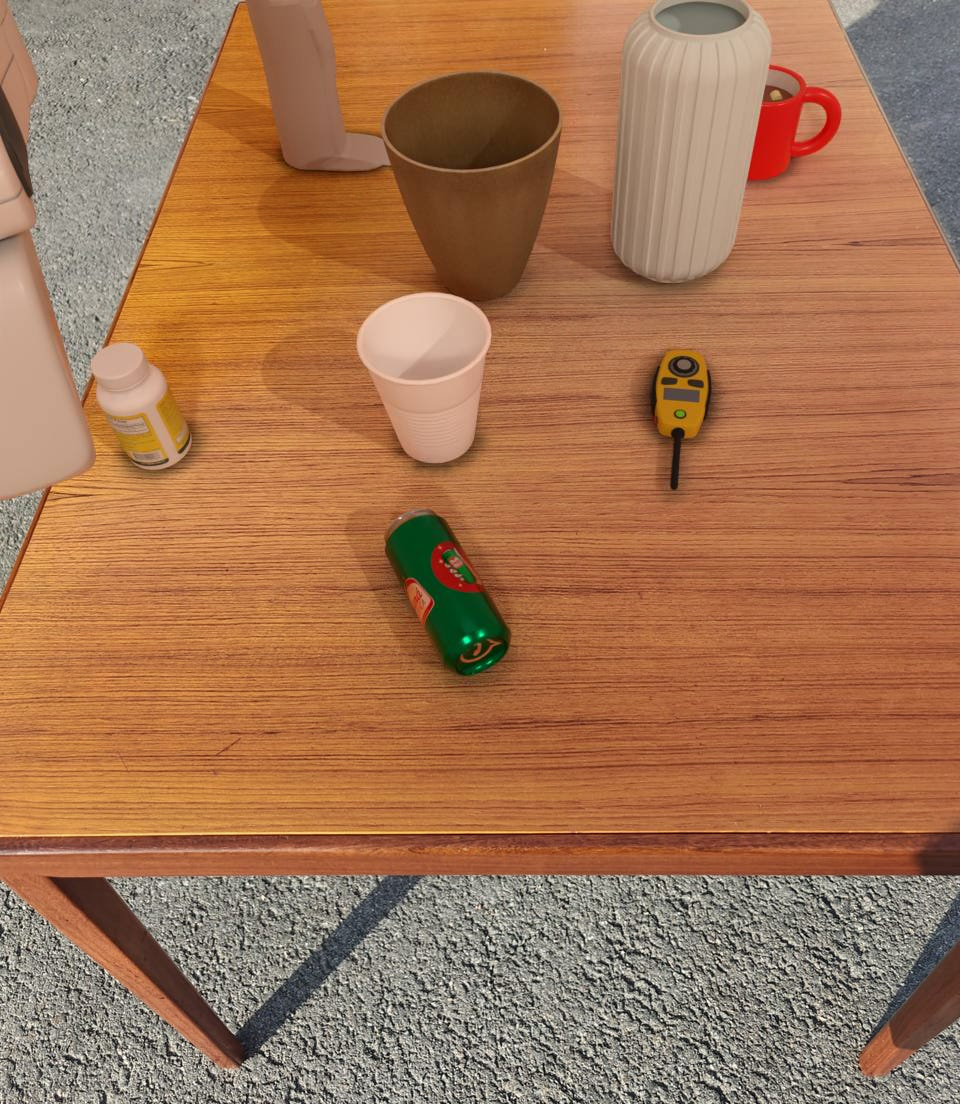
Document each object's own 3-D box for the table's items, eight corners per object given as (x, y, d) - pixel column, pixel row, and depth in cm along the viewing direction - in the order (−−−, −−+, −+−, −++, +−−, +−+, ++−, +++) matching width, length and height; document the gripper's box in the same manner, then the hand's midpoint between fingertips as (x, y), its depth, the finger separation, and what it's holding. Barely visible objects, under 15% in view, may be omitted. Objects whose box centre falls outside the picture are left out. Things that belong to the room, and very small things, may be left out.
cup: (516, 460, 74) (512, 357, 66) (400, 500, 73) (380, 399, 64) (471, 382, 80) (462, 277, 71) (362, 417, 78) (339, 314, 69)
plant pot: (379, 261, 91) (352, 102, 78) (513, 213, 94) (508, 52, 81) (445, 351, 82) (427, 189, 70) (589, 295, 86) (598, 131, 73)
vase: (740, 293, 85) (792, 44, 67) (614, 299, 85) (632, 53, 67) (720, 218, 92) (763, -27, 74) (603, 224, 92) (618, -18, 74)
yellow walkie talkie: (714, 348, 78) (708, 482, 70) (711, 365, 80) (704, 499, 71) (656, 343, 79) (643, 476, 70) (654, 360, 80) (641, 493, 72)
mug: (835, 179, 94) (857, 103, 88) (715, 180, 95) (728, 105, 89) (824, 136, 99) (843, 62, 93) (710, 138, 100) (721, 64, 94)
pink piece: (399, 174, 99) (371, -31, 83) (275, 169, 101) (224, -32, 85) (412, 137, 103) (388, -65, 87) (293, 133, 105) (248, -65, 89)
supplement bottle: (173, 414, 80) (133, 325, 72) (205, 449, 77) (166, 360, 69) (117, 446, 78) (68, 358, 70) (147, 483, 75) (100, 396, 67)
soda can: (452, 690, 63) (386, 562, 70) (518, 657, 64) (447, 534, 70) (441, 655, 59) (372, 523, 65) (512, 621, 60) (437, 493, 66)
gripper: (-258, -53, 31) (-53, 284, 43) (-271, 286, 20) (11, 623, 31) (-65, -91, 33) (84, 244, 44) (23, 206, 22) (193, 556, 33)
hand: (55, 405), depth 38 cm, fingers closed
